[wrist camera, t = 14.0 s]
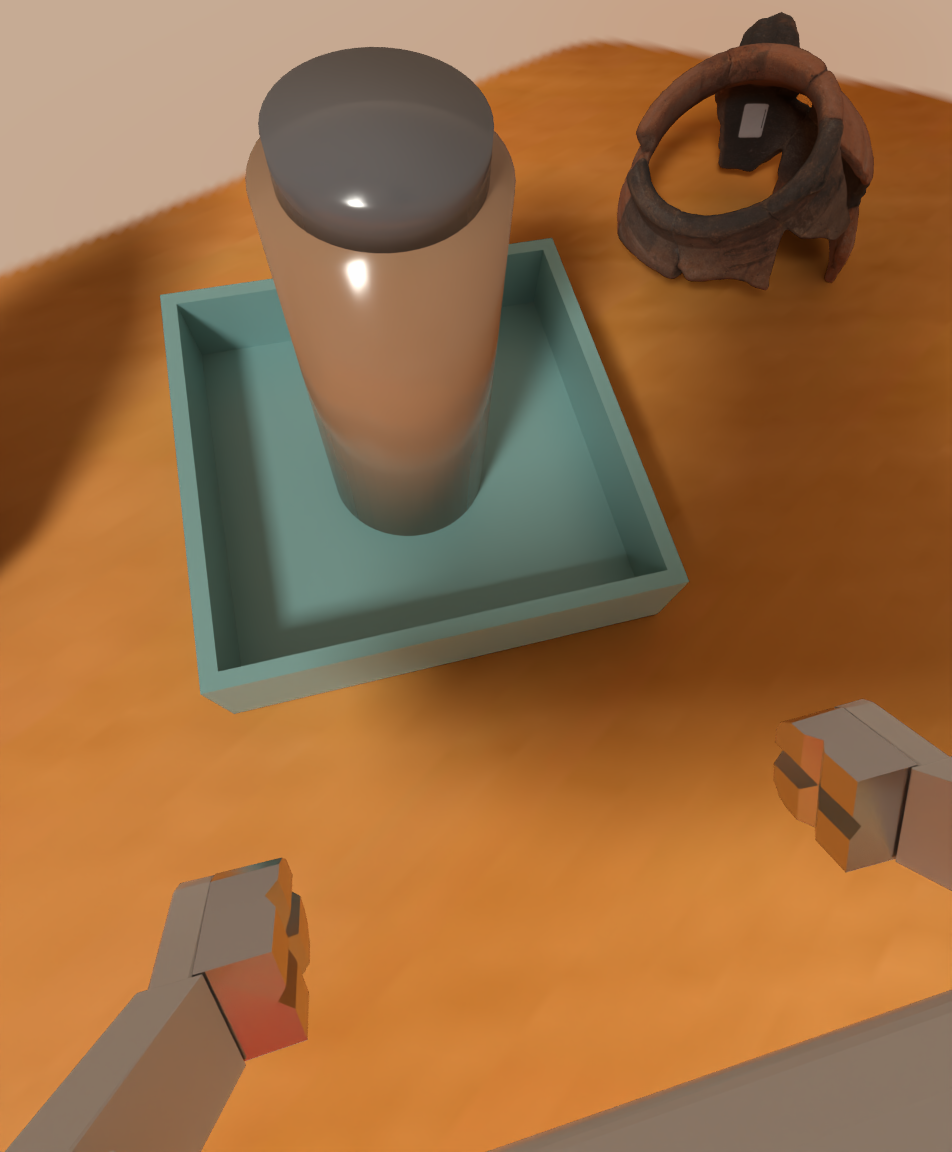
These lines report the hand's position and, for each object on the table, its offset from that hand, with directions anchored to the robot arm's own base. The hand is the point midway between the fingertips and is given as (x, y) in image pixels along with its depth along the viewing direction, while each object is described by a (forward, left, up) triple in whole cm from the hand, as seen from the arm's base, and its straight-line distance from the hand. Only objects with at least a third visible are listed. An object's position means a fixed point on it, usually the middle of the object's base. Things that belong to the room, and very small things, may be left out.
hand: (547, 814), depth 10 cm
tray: (0, +12, -9) cm, 15 cm away
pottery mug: (+16, +21, -10) cm, 28 cm away
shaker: (0, +12, -9) cm, 15 cm away
